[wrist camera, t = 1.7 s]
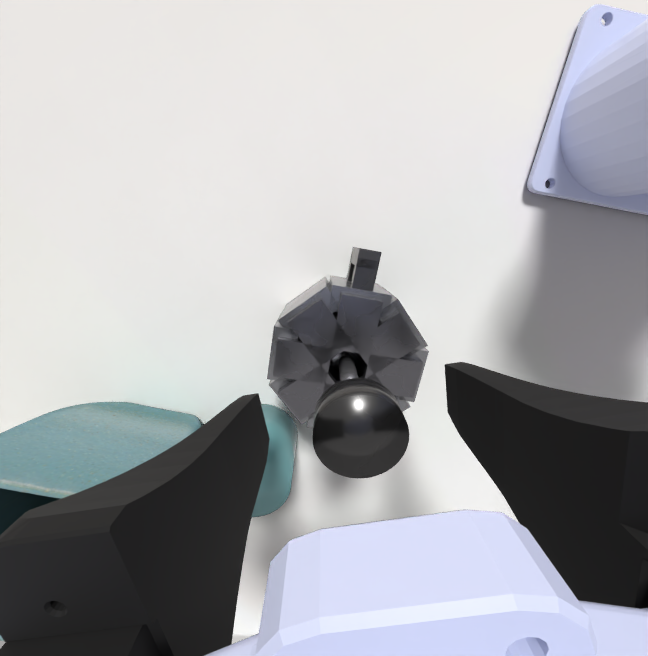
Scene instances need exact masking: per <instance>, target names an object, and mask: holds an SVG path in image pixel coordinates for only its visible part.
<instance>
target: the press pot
mask: <svg viewBox="0 0 648 656" xmlns="http://www.w3.org/2000/svg"><path fill="white" fill-rule="evenodd" d="M380 257H381V252H377V251H372V250H367V249H361V248H356V247H353V249H352V254H351V259H350V264H349V270H348V275H347V278H341V277H336V276H330V282H329V281H328V280H327V279H326V277H324V278H323V279H321V280H320V281H319V282H317V283H316V284H314V285H313V286H312V287H310V288H309V289H307V290H306V291H305V292H303V293H302V294H300V295H299V296H298V297H296V298H295V299H293V300H292V301H290V302H289V303H288V304H287V305H286V306H285V308H284V310H283V311H282V313H281V315H280V317H279V318H278V320H277V322H276V324H275V325H274V331H273V338H272V346H271V353H270V361H269V368H268V376H267V379H270V383H269V386H270V387H271V388H272V389H273V390H274V392H275V393H276V394H277V395H278V396H279V398H280V399H281V400H282V401H283V403H284V404H285V405H286V406H287V407H288V409H289V410H290V411H291V412H292V413H293V415H294V416H295V417H296V418H297V419H298V421H299V422H300V423H301V424H303V423H305V422H306V421H307V427H309V428H313V424H314V411H315V407H316V404H317V402H318V400H319V398H320V397H321V395H322V394H323V393H324V392H325V391H326V390H327V389H328V388H329V387H331V386H332V385H334V384H336V383H337V382H340V381H341V380H340V372H339V364H338V363H339V360H340V358H341V357H343V356H350V357H352V358H353V360H354V363H355V367H356V370H357V374H358V378H366V379H370V380H374V381H376V382H378V383H380V384H382V385H384V386H385V387H386V388H387V389H389V390H390V391H391V393H392V394H393V395H394V397H395V398H396V400H397V402H398V405H399V407H400V409H401V411H404V410H406V409H407V408H409V407H410V405H409V403H408V401H411V402H414V401H415V398H416V394H417V391H418V387H419V384H420V380H421V377H422V373H423V370H424V366H425V362H426V359H427V355H428V352H429V351H428V350H427V349H426V348H425V347H426V346H428V345H427V343H426V342H425V340H424V339H423V337H422V336H421V334H420V333H419V331H418V329H417V328H416V326H415V325H414V323H413V322H412V320H411V319H410V317H409V315H408V314H407V312H406V311H405V309H404V308H403V306H402V305H401V303H400V302H399V300H398V299H397V298H396V297H395V296H393V295H392V294H391V293H390V292H388V291H387V290H386V289H384V288H383V287H381V286H380V285H378V284H376V283H375V280H376V275H377V270H378V266H379V261H380Z"/></svg>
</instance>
